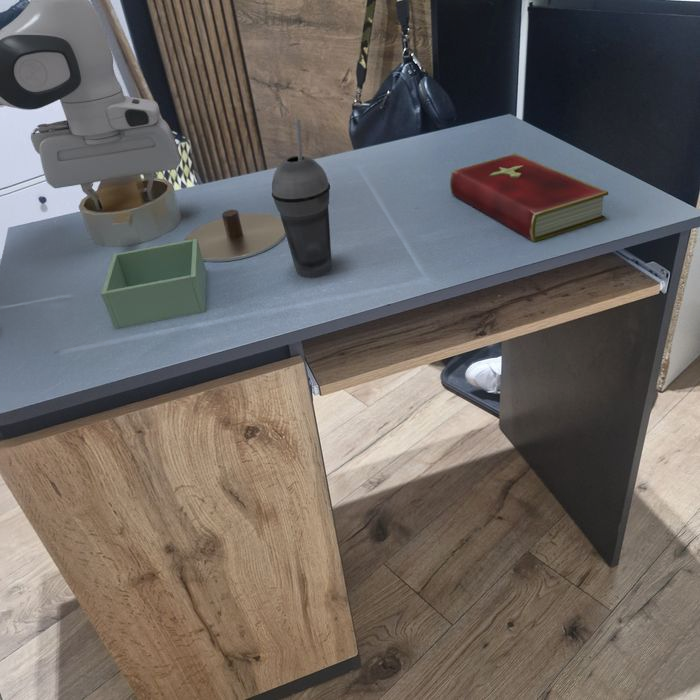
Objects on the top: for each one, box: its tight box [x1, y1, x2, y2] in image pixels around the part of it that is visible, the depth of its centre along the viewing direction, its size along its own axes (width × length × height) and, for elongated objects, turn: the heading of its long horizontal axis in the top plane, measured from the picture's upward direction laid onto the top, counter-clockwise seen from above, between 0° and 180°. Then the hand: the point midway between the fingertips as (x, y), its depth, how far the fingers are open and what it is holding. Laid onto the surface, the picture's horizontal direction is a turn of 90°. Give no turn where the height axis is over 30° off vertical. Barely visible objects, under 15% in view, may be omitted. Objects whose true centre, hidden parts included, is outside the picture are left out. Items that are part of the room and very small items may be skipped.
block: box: [96, 175, 148, 212], centre depth 102 cm, size 6×6×6 cm
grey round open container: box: [78, 177, 182, 248], centre depth 103 cm, size 15×20×6 cm
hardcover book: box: [449, 152, 609, 243], centre depth 93 cm, size 12×21×4 cm, turn 23°
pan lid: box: [184, 209, 286, 263], centre depth 95 cm, size 16×16×5 cm
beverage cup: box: [271, 119, 332, 279], centre depth 79 cm, size 7×7×20 cm
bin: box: [100, 239, 207, 330], centre depth 82 cm, size 11×11×6 cm
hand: (126, 204), depth 103 cm, fingers closed on block, 6 cm apart
